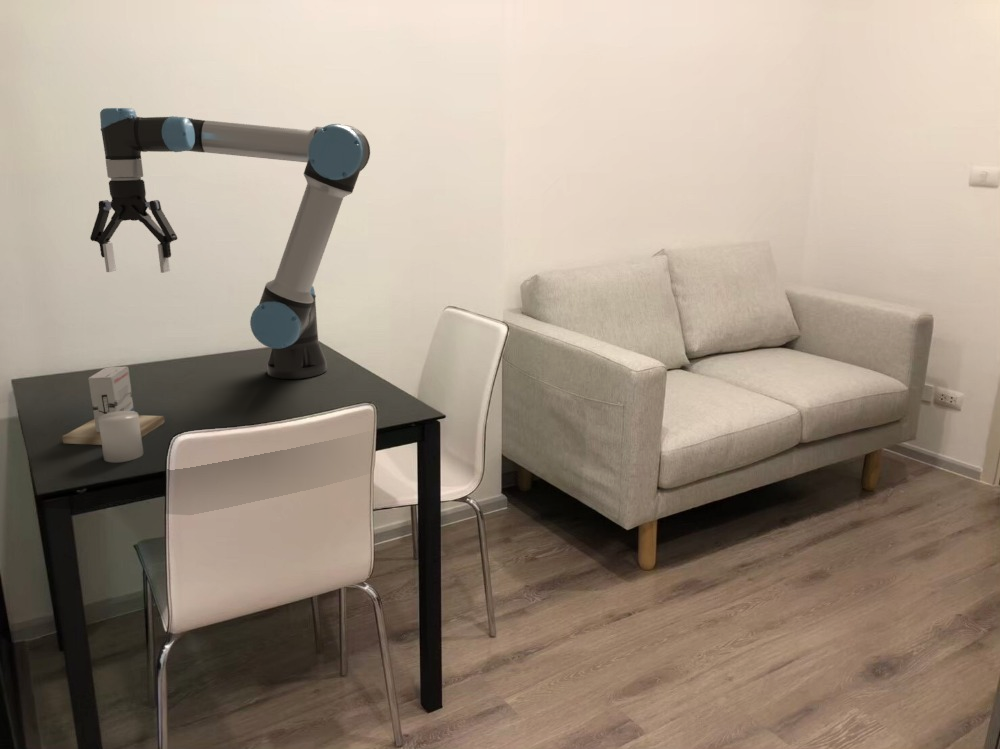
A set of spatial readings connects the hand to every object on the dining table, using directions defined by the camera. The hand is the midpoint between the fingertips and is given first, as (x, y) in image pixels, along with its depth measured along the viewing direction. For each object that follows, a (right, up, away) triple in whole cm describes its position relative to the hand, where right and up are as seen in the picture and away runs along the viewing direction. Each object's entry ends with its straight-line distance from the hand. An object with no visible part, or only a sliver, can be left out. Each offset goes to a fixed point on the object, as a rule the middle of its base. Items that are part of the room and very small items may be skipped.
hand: (138, 271), depth 196 cm
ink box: (+5, -35, -23) cm, 42 cm away
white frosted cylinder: (+13, -40, -35) cm, 55 cm away
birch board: (+5, -36, -23) cm, 43 cm away
